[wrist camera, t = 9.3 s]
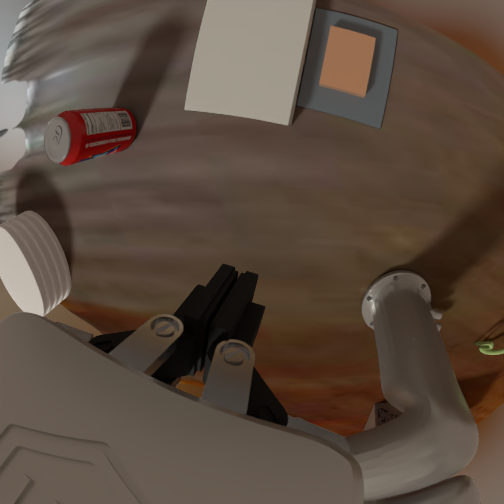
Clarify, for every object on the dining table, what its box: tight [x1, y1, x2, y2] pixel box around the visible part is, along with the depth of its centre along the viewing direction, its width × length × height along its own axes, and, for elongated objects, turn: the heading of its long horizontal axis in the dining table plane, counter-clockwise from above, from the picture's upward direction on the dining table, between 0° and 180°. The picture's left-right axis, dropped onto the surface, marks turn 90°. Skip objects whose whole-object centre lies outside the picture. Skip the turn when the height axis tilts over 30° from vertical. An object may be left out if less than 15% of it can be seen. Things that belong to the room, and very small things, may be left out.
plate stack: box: [0, 211, 71, 317], centre depth 56 cm, size 28×28×12 cm
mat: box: [297, 8, 398, 129], centre depth 28 cm, size 12×16×1 cm
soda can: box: [44, 107, 136, 166], centre depth 33 cm, size 8×8×15 cm
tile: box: [319, 26, 376, 98], centre depth 27 cm, size 6×9×2 cm, turn 169°
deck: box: [184, 0, 316, 126], centre depth 28 cm, size 14×22×4 cm, turn 170°
